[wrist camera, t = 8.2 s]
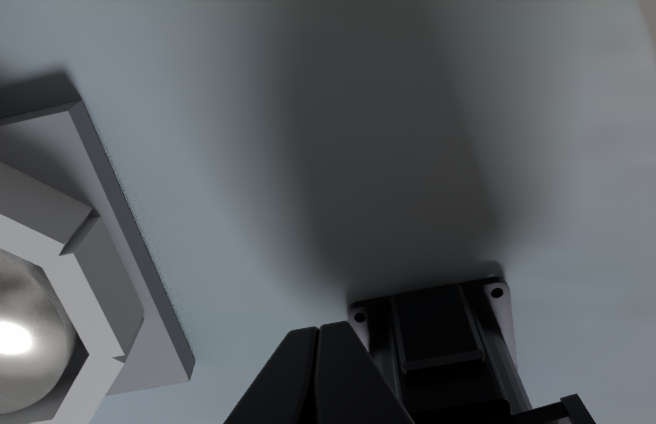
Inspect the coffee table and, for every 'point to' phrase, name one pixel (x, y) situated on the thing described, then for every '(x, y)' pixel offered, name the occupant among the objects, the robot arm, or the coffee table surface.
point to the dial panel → (85, 263)
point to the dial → (30, 334)
